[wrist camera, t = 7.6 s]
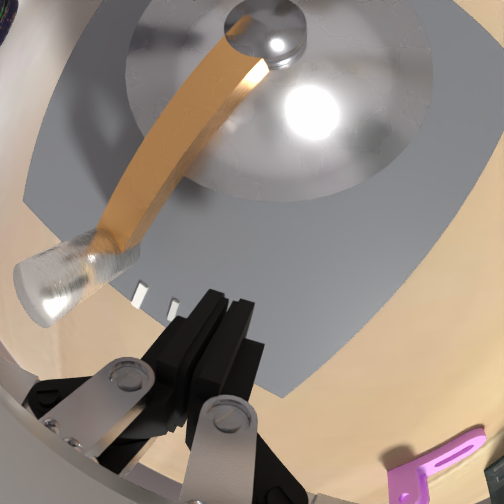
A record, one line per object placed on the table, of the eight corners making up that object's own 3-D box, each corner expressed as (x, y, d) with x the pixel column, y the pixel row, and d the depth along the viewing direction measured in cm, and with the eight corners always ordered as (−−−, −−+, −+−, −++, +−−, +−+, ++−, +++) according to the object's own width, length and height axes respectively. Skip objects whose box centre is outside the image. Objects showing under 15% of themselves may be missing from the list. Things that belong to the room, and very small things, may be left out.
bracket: (400, 479, 24) (404, 518, 17) (387, 470, 23) (389, 515, 16) (485, 435, 19) (497, 474, 12) (481, 421, 18) (496, 465, 12)
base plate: (199, -78, 8) (190, -91, 6) (509, 79, 9) (527, 74, 7) (38, 196, 19) (20, 201, 17) (285, 379, 20) (282, 400, 18)
